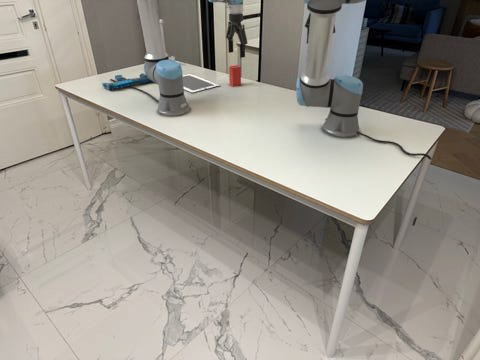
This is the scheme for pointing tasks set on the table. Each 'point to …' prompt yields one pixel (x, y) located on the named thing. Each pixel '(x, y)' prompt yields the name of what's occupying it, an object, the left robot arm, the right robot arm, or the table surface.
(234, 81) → the brick
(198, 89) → the tablet
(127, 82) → the submachine gun
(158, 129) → the table surface
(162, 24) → the flag stand
